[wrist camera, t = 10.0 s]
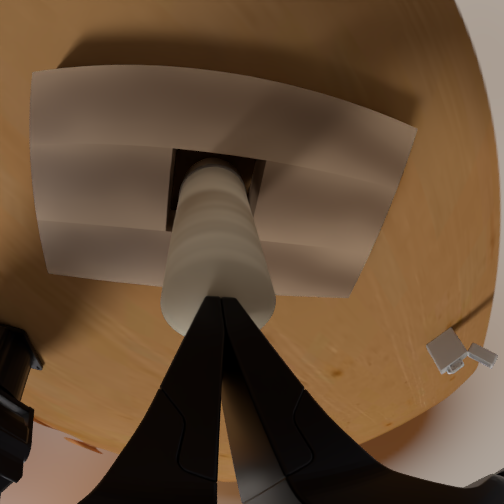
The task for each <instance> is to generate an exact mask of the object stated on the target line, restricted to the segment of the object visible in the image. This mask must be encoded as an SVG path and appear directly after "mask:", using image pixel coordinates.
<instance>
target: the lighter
mask: <svg viewBox="0 0 504 504" xmlns="http://www.w3.org/2000/svg"><path fill="white" fill-rule="evenodd" d="M426 347H427V350H428V352H429V353H430V355H431V357H432V358H433V360H434V362H435V364H436V365H437V367H438V369H439V371H440V373H441V374H443V373H445V372H446V371H447V373H448V374H454V373H455V372H456V371H458V370H459V369H460V368H462V367H463V366H464V363H463V361H462V360H463V359H464V358H465V357H467V356H468V357H470V358H472V359H474V360H476V361H478V362H480V363H482V364H483V365H485V366H487V367H489V368H492V367H493V365H494V364H495V362H496V360H497V356H498V355H497V354H495V353H493V352H491V351H489V350H487V349H485V348H483V347H481V346H479V345H477V344H475V343H472V344H471V346H470V348H469V350H468V351H467V350H466V349H465V347H464V346H463V344H462V342H461V341H460V339H459V338H458V336H457V335H456V333H455V332H454V330H453V329H452V327H450V328H449V329H448V330H446V331H445V332H444V333H442V334H441V335H439V336H438V337H437V338H435V339H434V340H433V341H431V342H430V343H428V344H427V345H426Z"/></svg>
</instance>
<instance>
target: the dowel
mask: <svg viewBox="0 0 504 504" xmlns="http://www.w3.org/2000/svg"><path fill="white" fill-rule="evenodd" d="M205 296H219V297H220V299H221V298H222V297H234V298H236V299H237V300H238V301H239V302H240V304H241V305H242V307H243V308H244V309H245V311H246V312H247V313H248V315H249V316H250V317H251V319H252V320H253V321H254V323H255V324H256V325H257V327H258V328H259V329H261V328H262V327H263V326H264V325H265V324H266V323H267V322H268V321H269V319H270V318H271V316H272V314H273V312H274V309H275V304H276V297H275V292H274V288H273V285H272V281H271V278H270V274H269V271H268V267H267V264H266V260H265V257H264V253H263V250H262V247H261V243H260V240H259V236H258V233H257V229H256V226H255V222H254V219H253V216H252V212H251V209H250V205H249V202H248V198H247V193H246V188H245V185H244V182H243V180H242V178H241V175H240V173H239V172H238V170H237V169H236V168H235V167H234V166H233V165H232V164H230V163H229V162H227V161H225V160H222V159H219V158H206V159H203V160H201V161H199V162H197V163H195V164H194V165H193V166H192V167H190V169H189V170H188V171H187V172H186V174H185V176H184V179H183V182H182V184H181V187H180V191H179V200H178V205H177V210H176V215H175V220H174V225H173V230H172V235H171V240H170V246H169V251H168V257H167V263H166V268H165V275H164V281H163V287H162V294H161V310H162V314H163V316H164V318H165V320H166V321H167V323H168V324H169V325H170V326H171V327H172V328H173V329H174V330H175V331H177V332H178V333H180V334H181V335H183V336H185V335H186V333H187V331H188V329H189V327H190V325H191V323H192V321H193V319H194V317H195V315H196V313H197V311H198V309H199V307H200V305H201V303H202V301H203V299H204V297H205Z"/></svg>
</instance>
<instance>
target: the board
mask: <svg viewBox="0 0 504 504" xmlns="http://www.w3.org/2000/svg"><path fill="white" fill-rule="evenodd" d="M416 133H417V128H415V127H412V126H410V125H408V124H406V123H403V122H401V121H399V120H396V119H394V118H391V117H389V116H386V115H384V114H381V113H379V112H376V111H373V110H371V109H368V108H365V107H362V106H360V105H357V104H354V103H351V102H348V101H345V100H342V99H339V98H336V97H332V96H329V95H326V94H322V93H319V92H315V91H312V90H308V89H304V88H300V87H297V86H293V85H288V84H284V83H280V82H275V81H271V80H266V79H261V78H256V77H251V76H245V75H239V74H233V73H227V72H220V71H212V70H204V69H195V68H185V67H172V66H155V65H98V66H81V67H69V68H59V69H51V70H44V71H37V72H32V82H31V96H30V160H31V174H32V185H33V194H34V202H35V209H36V216H37V222H38V228H39V234H40V239H41V244H42V249H43V254H44V258H45V262H46V267H47V271H48V273H50V274H57V275H64V276H72V277H79V278H87V279H95V280H104V281H113V282H121V283H131V284H140V285H150V286H160V287H163V281H164V275H165V268H166V263H167V257H168V251H169V246H170V240H171V235H172V230H173V225H174V220H175V215H176V210H171V199H172V188H173V178H174V168H175V159H176V151H177V149H185V150H194V151H203V152H212V153H219V154H227V155H234V156H241V157H248V158H254V159H256V162H255V166H254V171H253V176H252V180H251V185H250V190H249V194H248V202H249V205H250V209H251V212H252V216H253V219H254V222H255V226H256V229H257V233H258V236H259V240H260V243H261V247H262V250H263V253H264V257H265V260H266V264H267V267H268V271H269V274H270V278H271V281H272V285H273V288H274V292H275V295H285V296H306V297H332V298H349V296H350V294H351V292H352V290H353V288H354V286H355V284H356V282H357V280H358V278H359V276H360V274H361V271H362V269H363V267H364V265H365V263H366V261H367V259H368V257H369V254H370V252H371V250H372V248H373V246H374V243H375V241H376V239H377V237H378V234H379V232H380V230H381V227H382V225H383V223H384V220H385V218H386V215H387V213H388V210H389V208H390V205H391V203H392V200H393V198H394V195H395V193H396V190H397V188H398V185H399V182H400V179H401V177H402V174H403V171H404V168H405V166H406V163H407V160H408V157H409V154H410V151H411V148H412V145H413V142H414V139H415V136H416Z"/></svg>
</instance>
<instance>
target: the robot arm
mask: <svg viewBox="0 0 504 504" xmlns="http://www.w3.org/2000/svg"><path fill="white" fill-rule="evenodd" d="M31 368H33V369H37V370H42V368H43V365H42V363H41V362H40V360H39V358H38V356H37V354H36V352H35V350H34V348H33V346H32V344H31V342H30V340H29V338H28V336H27V334H26V333H25V332H24V331H23V330H21V329H17V328H13V327H9V326H5V325H1V324H0V496H1V492H3V491H4V490H5V489H6V488H7V487H8V486H9V485H10V484H12V483H13V482H15V483H17V482H18V481H19V480H20V478H21V477H22V475H23V463H24V462H25V461H26V460H27V458H28V456H29V453H30V450H31V443H32V429H33V418H34V409H33V408H31V407H28V406H26V405H25V404H23V403H22V402H20V401H21V398H22V394H23V391H24V388H25V384H26V381H27V378H28V375H29V372H30V369H31ZM221 400H222V406H223V411H224V417H225V423H226V428H227V434H228V439H229V444H230V449H231V454H232V459H233V464H234V469H235V474H236V479H237V483H238V488H239V492H240V497H241V501H242V503H243V504H504V468H503V469H501V470H500V471H498V472H496V473H495V474H490V475H488V476H486V477H484V478H482V479H480V480H478V481H476V482H474V483H472V484H470V485H468V486H466V487H464V488H460V487H454V486H450V485H445V484H440V483H436V482H432V481H428V480H424V479H420V478H416V477H412V476H409V475H406V474H402V473H399V472H396V471H393V470H391V469H389V468H387V467H385V466H384V465H382V464H381V463H379V462H378V461H376V460H375V459H374V458H373V457H372V456H371V455H369V454H368V453H367V452H366V451H365V450H364V449H363V448H362V447H361V446H359V445H358V444H357V443H356V442H355V441H354V440H353V439H352V438H351V437H350V436H349V435H348V434H346V433H345V432H344V431H343V430H342V429H341V428H340V427H339V426H338V425H337V424H336V423H335V422H334V421H333V420H332V419H331V418H330V417H329V416H328V415H327V414H326V412H325V411H324V410H323V409H322V408H321V407H320V406H319V404H318V403H317V402H316V401H315V400H314V398H313V397H312V396H311V395H310V393H309V392H308V391H307V390H306V389H305V390H304V386H303V385H302V384H301V382H300V381H299V380H298V379H297V377H296V376H295V375H294V373H293V372H292V371H291V370H290V368H289V367H288V366H287V365H286V363H285V362H284V361H283V359H282V358H281V357H280V356H279V354H278V353H277V352H276V350H275V349H274V348H273V346H272V345H271V344H270V343H269V341H268V340H267V339H266V337H265V336H264V335H263V333H262V332H261V331H260V329H259V328H258V327H257V325H256V324H255V323H254V321H253V320H252V319H251V317H250V316H249V315H248V313H247V312H246V311H245V309H244V308H243V307H242V305H241V304H240V302H239V301H238V300H237V299H236V298H234V297H222V298H221V299H220V297H219V296H205V297H204V299H203V301H202V303H201V305H200V307H199V309H198V311H197V313H196V315H195V317H194V319H193V321H192V323H191V325H190V327H189V329H188V331H187V333H186V335H185V337H184V339H183V341H182V343H181V345H180V347H179V349H178V351H177V353H176V355H175V357H174V359H173V361H172V363H171V365H170V367H169V369H168V371H167V373H166V375H165V377H164V379H163V381H162V383H161V385H160V389H158V391H157V393H156V395H155V397H154V399H153V401H152V403H151V405H150V407H149V409H148V411H147V413H146V415H145V416H144V418H143V420H142V421H141V423H140V425H139V426H138V428H137V429H136V431H135V433H134V434H133V436H132V437H131V439H130V440H129V442H128V443H127V444H126V446H125V447H124V449H123V450H122V452H121V453H120V455H119V456H118V458H117V459H116V461H115V462H114V463H113V465H112V466H111V468H110V469H109V471H108V472H107V473H106V475H105V476H104V477H103V479H102V480H101V481H100V483H99V484H98V485H97V486H96V487H95V488H94V489H93V490H92V492H91V493H89V494H88V495H87V496H86V497H85V498H84V499H82V500H81V501H80V502H79V503H77V504H217V483H216V482H217V477H218V452H219V430H220V410H221Z"/></svg>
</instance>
